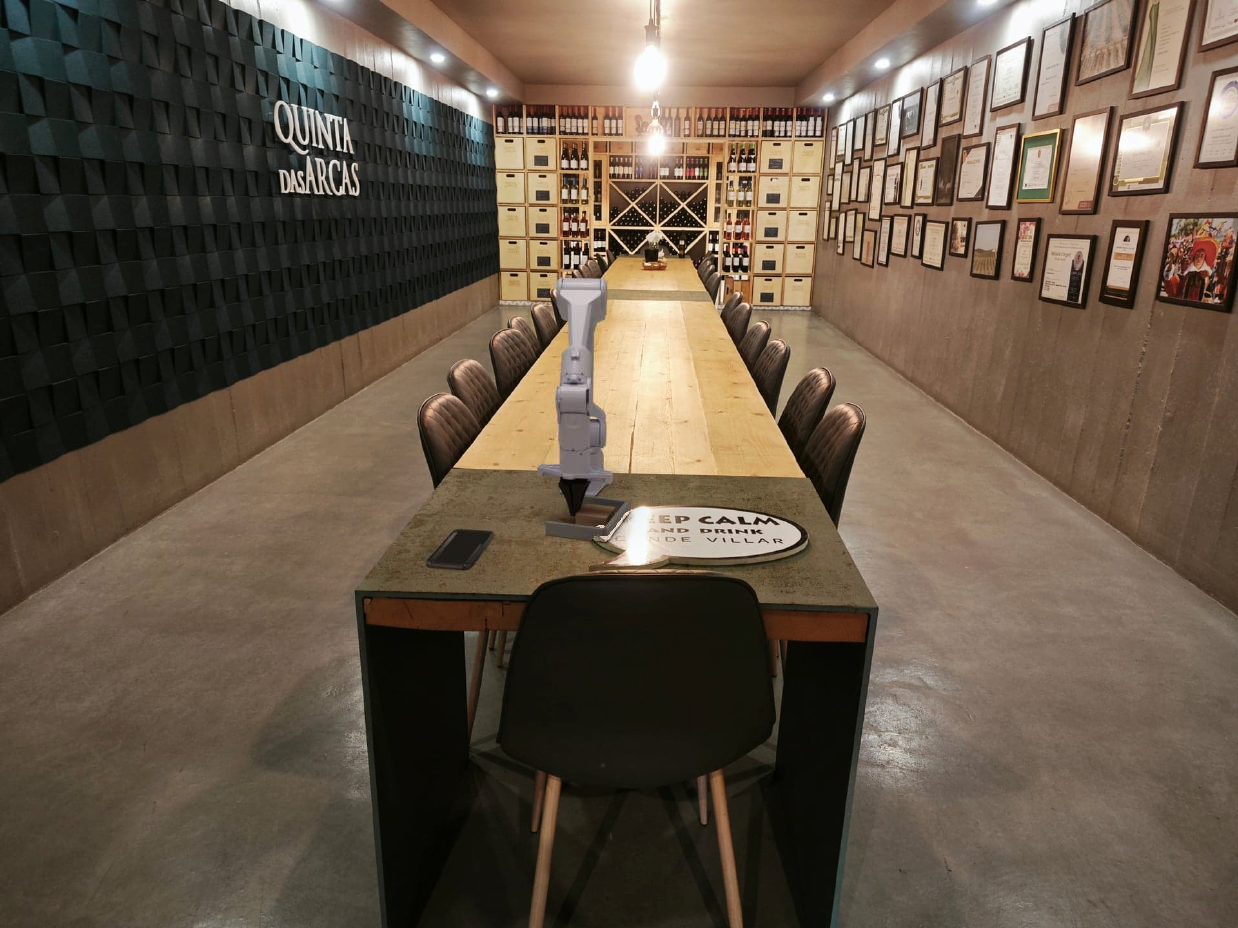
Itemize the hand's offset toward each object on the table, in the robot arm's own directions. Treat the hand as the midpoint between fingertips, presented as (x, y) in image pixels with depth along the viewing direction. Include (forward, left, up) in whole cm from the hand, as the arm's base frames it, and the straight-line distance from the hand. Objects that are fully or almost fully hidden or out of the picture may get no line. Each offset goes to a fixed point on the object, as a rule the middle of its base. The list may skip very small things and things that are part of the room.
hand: (575, 514), depth 150 cm
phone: (+18, -15, -2) cm, 24 cm away
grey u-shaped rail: (0, +3, -1) cm, 3 cm away
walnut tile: (0, +4, -2) cm, 4 cm away
